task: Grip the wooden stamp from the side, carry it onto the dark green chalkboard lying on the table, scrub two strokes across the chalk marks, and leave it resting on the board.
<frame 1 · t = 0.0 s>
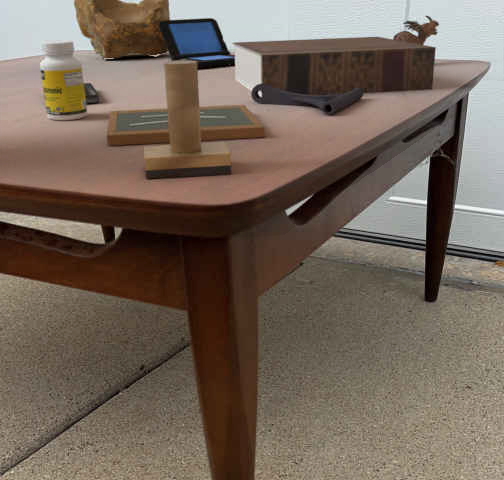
book: (325, 86, 119), on the table
phone: (70, 98, 110), on the table
rough brown rock: (123, 58, 167), on the table
dragon figurine: (405, 66, 140), on the table
wooden stamp: (187, 170, 67), on the table
board: (182, 128, 86), on the table
bracket: (300, 105, 100), on the table
game console: (206, 65, 150), on the table
supplement bottle: (67, 118, 95), on the table
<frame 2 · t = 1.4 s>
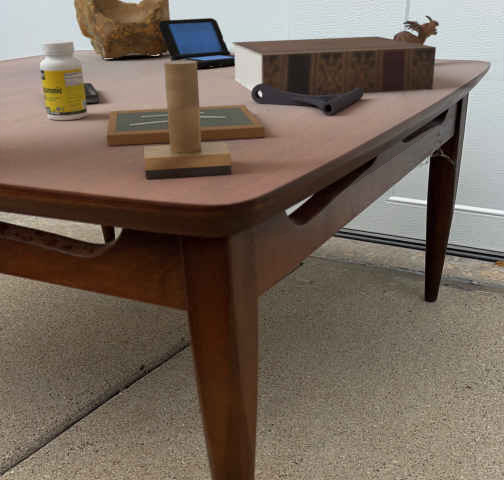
nothing on the table moved.
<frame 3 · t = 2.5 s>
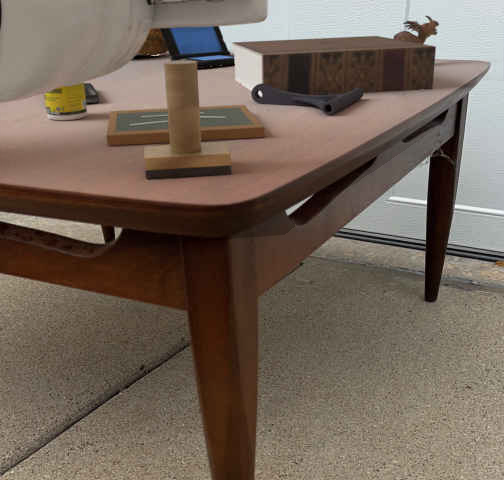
nothing on the table moved.
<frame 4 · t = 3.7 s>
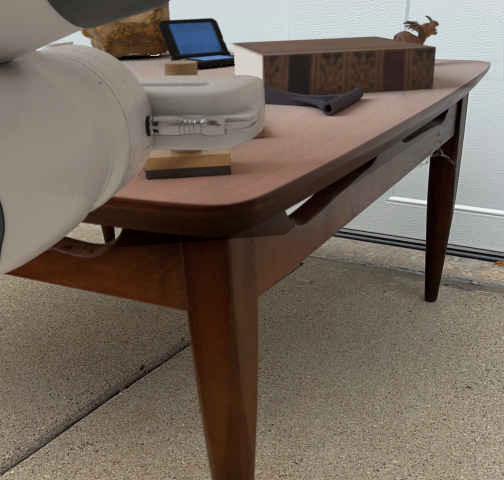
hand: (143, 92, 52), 9 cm above the table, tool horizontal, fingers open, 8 cm apart
nothing on the table moved.
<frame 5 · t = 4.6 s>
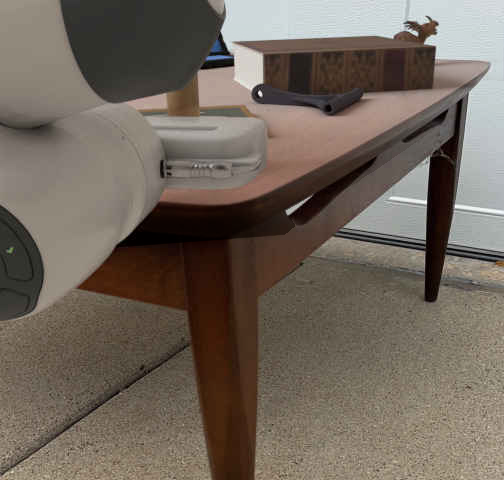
hand: (155, 126, 56), 6 cm above the table, tool horizontal, fingers open, 8 cm apart
nothing on the table moved.
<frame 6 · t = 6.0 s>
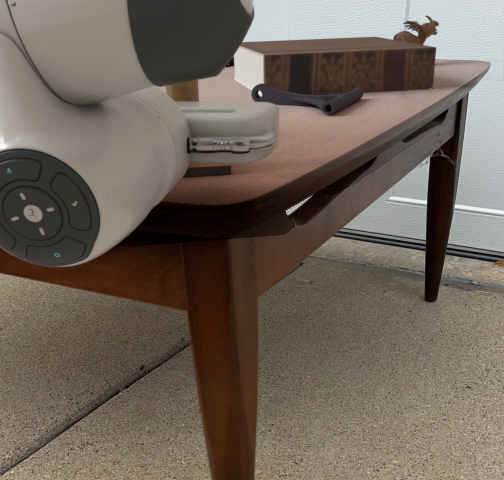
hand: (176, 112, 62), 6 cm above the table, tool horizontal, fingers open, 8 cm apart
nothing on the table moved.
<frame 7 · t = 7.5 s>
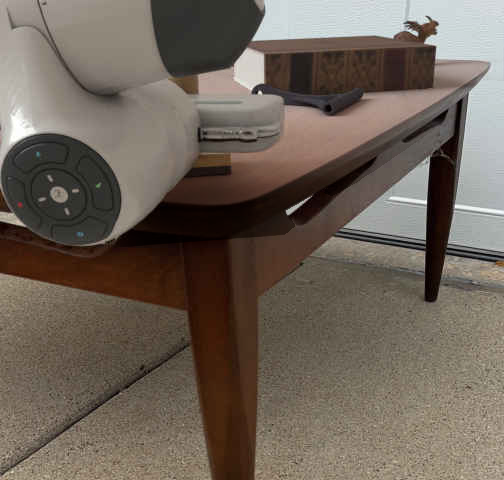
hand: (185, 105, 65), 6 cm above the table, tool horizontal, fingers closed on wooden stamp, 3 cm apart
wooden stamp: (187, 170, 67), on the table, touching gripper
everything else where it was.
when the fingers open (7 cm above the table, at t = 19.9 s): wooden stamp stays where it is, resting on board.
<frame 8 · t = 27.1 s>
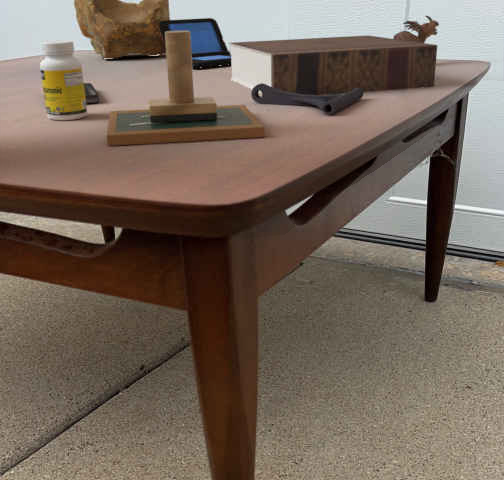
wooden stamp: (183, 117, 85), point 1 cm above the table, touching board
at the end: wooden stamp inside the target area on the board (0.1 cm from its centre), point 1.3 cm above the board's base; wooden stamp tilted 0°; the gripper is holding nothing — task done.
